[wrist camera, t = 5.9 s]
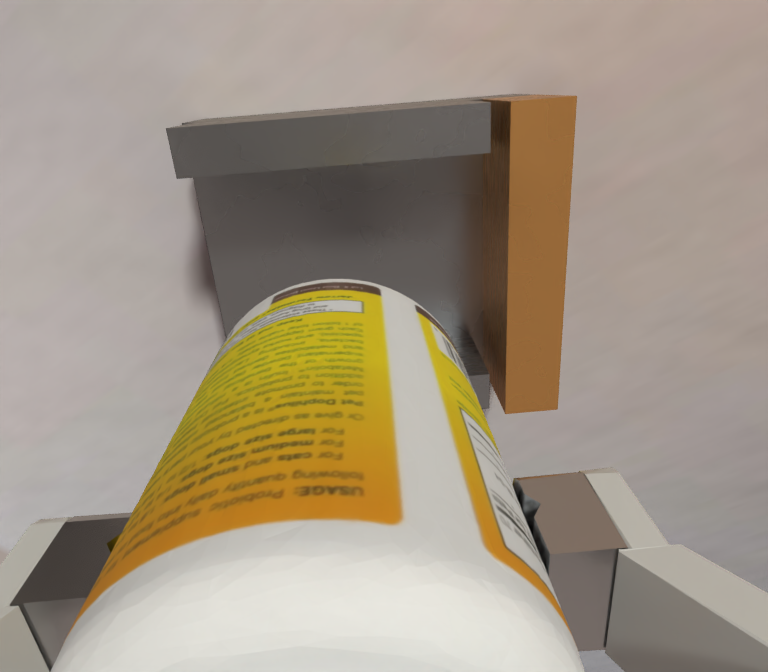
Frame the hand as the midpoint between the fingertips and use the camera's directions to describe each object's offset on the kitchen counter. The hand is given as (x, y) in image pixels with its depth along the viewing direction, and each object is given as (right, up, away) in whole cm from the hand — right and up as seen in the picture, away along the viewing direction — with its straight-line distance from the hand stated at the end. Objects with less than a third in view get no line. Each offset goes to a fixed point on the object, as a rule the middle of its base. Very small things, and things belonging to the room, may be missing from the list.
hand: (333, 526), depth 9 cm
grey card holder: (0, +7, +17) cm, 18 cm away
